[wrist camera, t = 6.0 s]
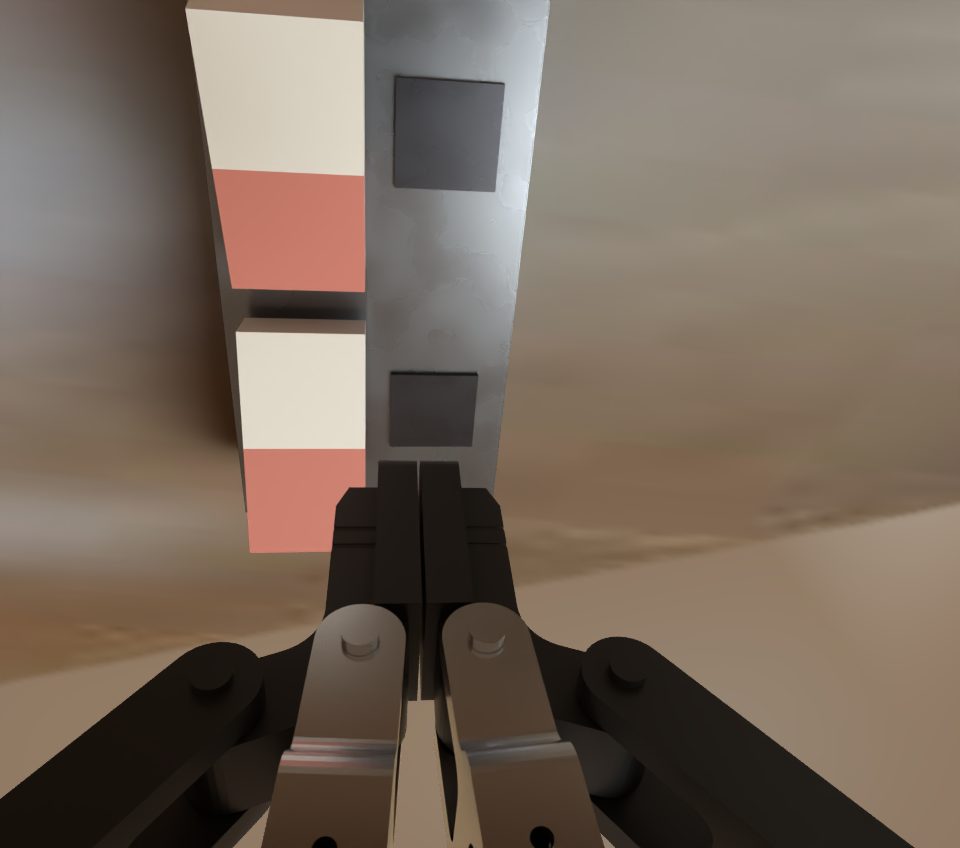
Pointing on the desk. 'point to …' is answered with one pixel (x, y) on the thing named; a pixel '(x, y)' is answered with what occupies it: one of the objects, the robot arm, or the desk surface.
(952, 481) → the desk surface
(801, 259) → the desk surface
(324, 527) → the rocker
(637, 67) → the desk surface
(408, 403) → the power strip
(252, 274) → the block
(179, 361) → the desk surface
